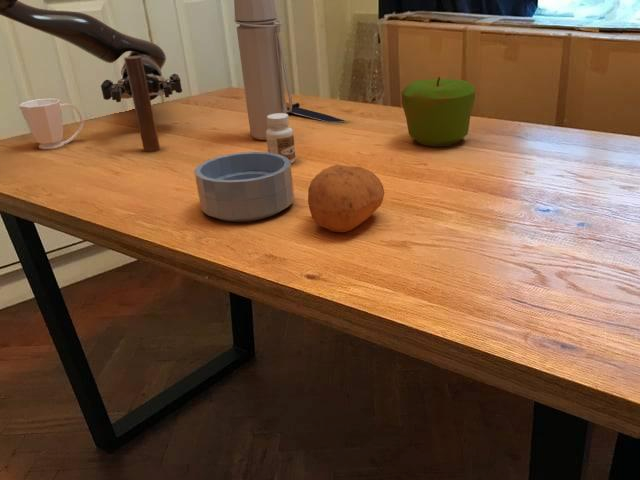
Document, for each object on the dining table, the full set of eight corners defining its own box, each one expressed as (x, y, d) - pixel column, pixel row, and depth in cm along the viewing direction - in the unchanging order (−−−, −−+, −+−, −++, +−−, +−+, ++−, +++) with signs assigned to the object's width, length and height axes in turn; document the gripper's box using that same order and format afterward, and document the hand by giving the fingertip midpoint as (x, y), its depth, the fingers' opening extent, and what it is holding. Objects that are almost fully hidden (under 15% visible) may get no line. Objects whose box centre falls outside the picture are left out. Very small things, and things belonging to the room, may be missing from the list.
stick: (144, 152, 118) (124, 59, 110) (143, 148, 120) (123, 56, 112) (160, 150, 118) (141, 57, 111) (159, 146, 121) (141, 55, 113)
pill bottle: (285, 167, 108) (280, 120, 104) (264, 164, 109) (258, 117, 106) (301, 159, 111) (296, 113, 107) (280, 156, 113) (275, 111, 109)
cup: (27, 145, 124) (14, 102, 121) (82, 135, 129) (71, 93, 126) (35, 153, 119) (22, 109, 116) (92, 143, 124) (81, 99, 121)
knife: (337, 133, 130) (353, 124, 133) (335, 121, 129) (351, 111, 132) (249, 110, 144) (265, 101, 147) (246, 98, 142) (263, 90, 145)
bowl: (208, 231, 85) (200, 187, 83) (197, 199, 96) (189, 159, 93) (304, 215, 89) (300, 172, 86) (283, 186, 100) (278, 147, 97)
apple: (475, 132, 122) (477, 69, 116) (471, 152, 111) (473, 83, 106) (408, 131, 124) (407, 69, 118) (398, 150, 113) (396, 83, 108)
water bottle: (241, 140, 123) (221, -7, 111) (265, 129, 129) (248, -11, 117) (283, 144, 119) (266, -7, 107) (306, 133, 125) (292, -11, 113)
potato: (291, 228, 86) (285, 173, 82) (348, 201, 93) (344, 150, 90) (345, 245, 80) (341, 186, 77) (400, 215, 88) (399, 161, 84)
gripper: (101, 62, 130) (95, 76, 116) (175, 55, 133) (178, 69, 120) (110, 100, 134) (105, 119, 120) (182, 93, 137) (186, 110, 123)
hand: (142, 94), depth 120 cm, fingers open, 8 cm apart
